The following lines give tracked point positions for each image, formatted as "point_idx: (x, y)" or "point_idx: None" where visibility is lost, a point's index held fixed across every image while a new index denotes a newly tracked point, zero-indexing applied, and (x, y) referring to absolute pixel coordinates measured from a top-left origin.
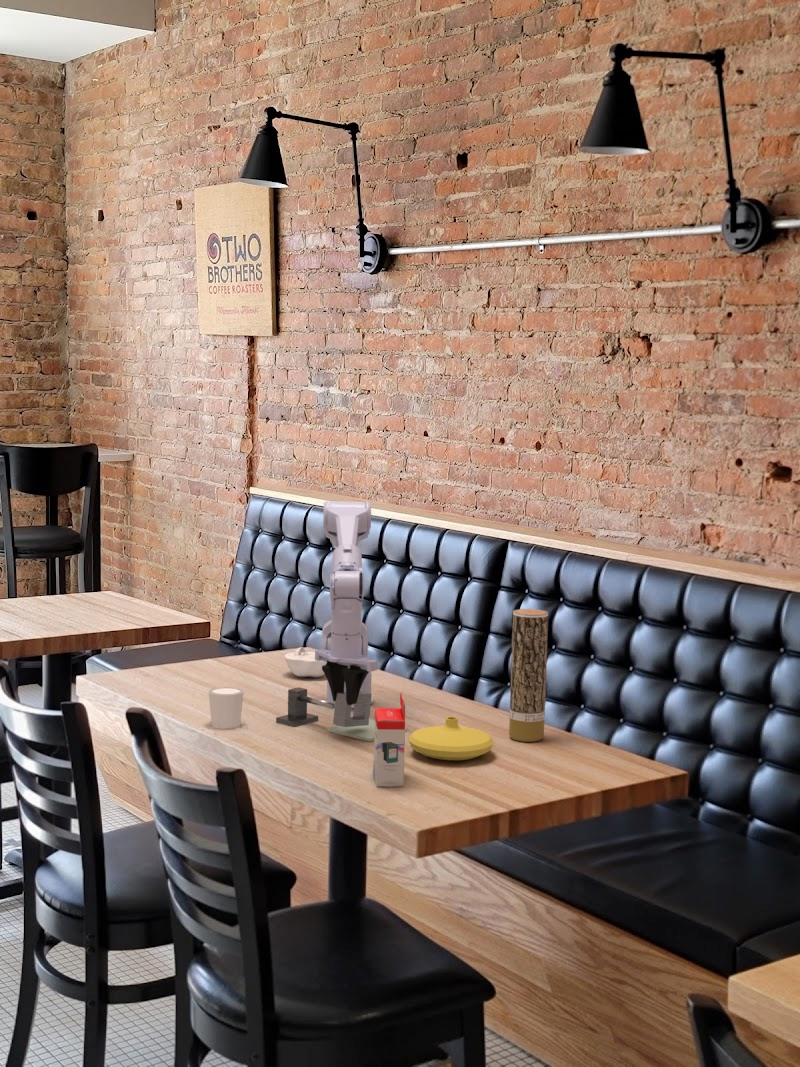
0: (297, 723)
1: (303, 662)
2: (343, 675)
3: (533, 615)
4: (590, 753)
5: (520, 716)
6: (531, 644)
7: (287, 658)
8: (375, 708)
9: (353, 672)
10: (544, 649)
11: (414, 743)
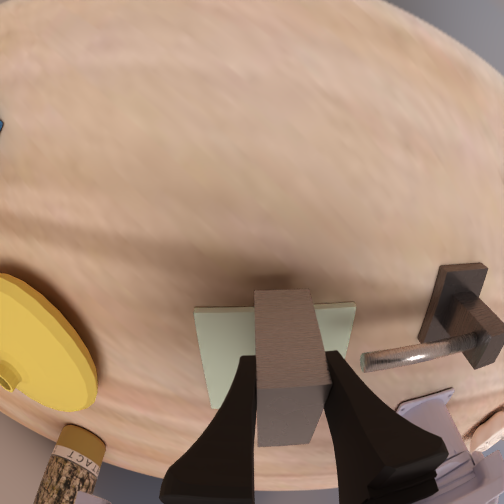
0: (440, 281)
1: (499, 428)
2: (250, 465)
3: None
4: (18, 412)
5: (58, 450)
6: None
7: None
8: None
9: (161, 490)
10: None
11: (10, 285)
